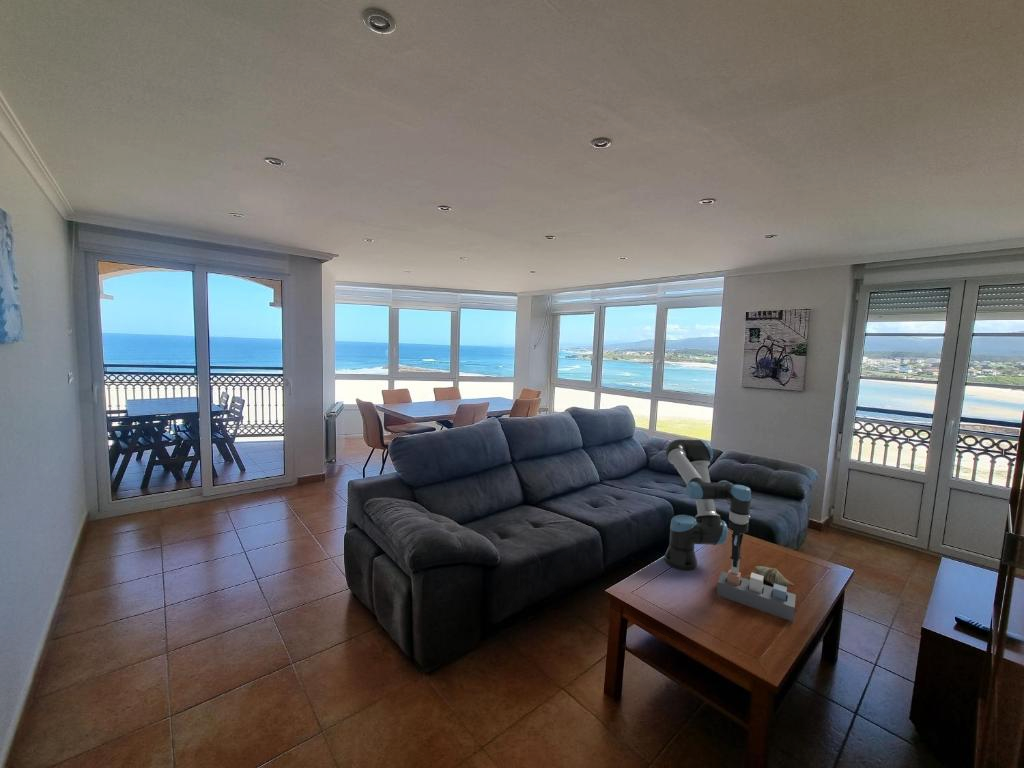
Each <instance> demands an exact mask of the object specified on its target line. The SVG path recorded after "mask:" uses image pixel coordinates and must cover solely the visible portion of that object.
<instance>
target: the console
mask: <svg viewBox="0 0 1024 768" xmlns="http://www.w3.org/2000/svg"><path fill="white" fill-rule="evenodd" d="M727 576H728V572H725V571H721V573H720V576H719V578H718V581H717V584H716V585H717V589H716V596H719V597H722V598H723V599H724V598H725V599H727V600H731V601H733V602H736V603H738V604H741V605H745V606H747V607H750V608H752V609H755V610H758V611H761V612H764V613H767V614H770V615H773V616H776V617H779V618H782V619H785V620H788V621H790V622H794V620H795V619H794V618H795V607H796V594H795V593H792V592H789V591H787V593H786V601H783V600H780V599H777V598H774V597H772V596H773V587H774V586H770V585H767V584H763V590H762V593H759V592H756V591H753V590H750V589H749V584H750V579H748V578H745V577H742V576H741V580H740V586H738V585H734V584H731V583H728V582H727Z"/></svg>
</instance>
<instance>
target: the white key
mask: <svg viewBox="0 0 1024 768" xmlns="http://www.w3.org/2000/svg"><path fill="white" fill-rule="evenodd" d="M763 579H764V576H762V575H759V574H756V572H751V574H750V576H749V580H750V584H749V589H750V590H753V591H756V592H759V593H762V590H763Z"/></svg>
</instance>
